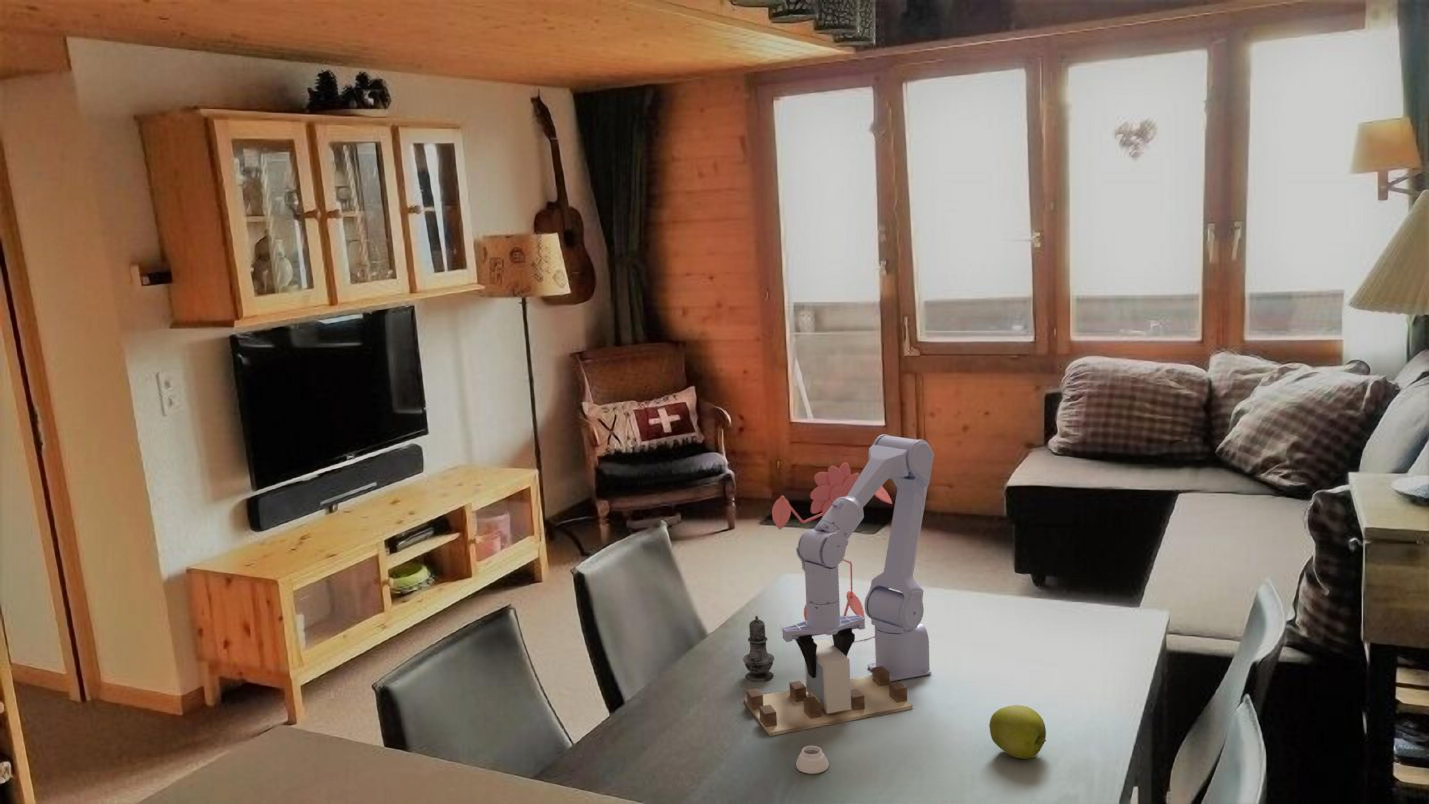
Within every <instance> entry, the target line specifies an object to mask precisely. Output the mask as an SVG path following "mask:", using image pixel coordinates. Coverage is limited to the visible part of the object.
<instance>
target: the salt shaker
mask: <svg viewBox="0 0 1429 804" xmlns="http://www.w3.org/2000/svg"><path fill="white" fill-rule="evenodd" d="M765 625H766V624H765V622H764V621H763V620H761V619H759V617H758V615H755V617H754V619H753V620H751V621H750V623H749V627H748V629H749V637H748V639H747V641H748V643H749V653H748V654H746V655H744V656H743V657H742V661H743V662H744V666H745V668H746V669H747V671H748V672H747V673H746V674H745V676H744V677H745V679H746V680H747V681H749V682H752V683H766V682H770V681H771V680H772V679H774V673H773V672H772V671H770V670H771V669H772V667H773V665H774V661H775V656H774V655H773V654H771V653H769V652H768V651H767V641H768V637H767V636H766V626H765Z"/></svg>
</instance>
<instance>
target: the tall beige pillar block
mask: <svg viewBox="0 0 1429 804" xmlns="http://www.w3.org/2000/svg"><path fill="white" fill-rule="evenodd" d="M814 642H815V643H816V644H817V650H816V678H812V677H811V676H810V675H809V674H808V669H807V665H806V662H805V661H804V673H805V674H804V675H805V687H806V692H807V693H808V694H809V695H810V696H811V697H815V698H816V699H817V700H818V701H819V702H820V703H821V708H822V709H823V710H824V711H825V712H826V713H827V714H829V713H834V712H839V711H844V710H850V709H851V689H850V679H851V672H850V671H851V669H850V658H849V657H848V656H847V657H846V656H845V655H844V654H843V653H842V652H841V651H840V650H839V649H837V648H836V647H835V646H834V643H832V642H831V641H830V640H829V639H828V638H826V639H821V640H820V639H818V640H814Z"/></svg>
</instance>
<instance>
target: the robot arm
mask: <svg viewBox="0 0 1429 804" xmlns="http://www.w3.org/2000/svg"><path fill="white" fill-rule="evenodd" d="M934 458H935V453H934V452H933V449H932V448H931V446H930V444H929V443H928V441H926V440H924V439H914V438H907V437H900V436H893V435H889V434H885V433H884V434H880V435H879V436H877V437H876V438H875V439H874V442H873V443H872V445H871V446H870V447H869V449H868V461H867V463H866V465H865V466H864V467H863V469H862V471H861V472H860V473H859V474H860V476H859V477H858V479H857V481H856V482H855V484H854V485H853V487H852V489H851V490H850V492H849V493H848V495H847V496H846V497H839V498H837V499H836V500H834V502H833V503H832V505H831V507H830V508H829V509H828V511H827V512H826V513H825V515H824V516H823V515H822V516H821V519H819V521H818V522H817V524H816V526H814V528H811V529H808V530H807V531H805V532H803V533H802V534H801V535H800V537H799V540H798V543H797V547H796V549H795V551H796V556H797V558H799V560H800V562H801V569H802V571H803V572H804V582H805V583H804V584H805V602H806V603H805V605H806V609H807V620H806V621H805V620H804V621H801V622H798V623H795V624H792V625H789V626H784V627H781V629H782V639H783V640H784V641H785V642H786V643H790V642H792V641H793V640H794V641H795V642H796V644H797V645H798V647H799V649H800V652H801V654H802V656H803V659H804V663H805V662H806V665H807V669H808V674H809V675H810V676H811V677H812V678H816V650H817V644H816V643H815V642H814V641H815V640H814V638H813V637H816V636H820V635H826V636H832V640H833V643H832V644H833V645H834V646H835V647H836V648H837V649H839V650H840V651H841V652H842V653H843V654H844V655H845V656H846V657H848V654H849V651H850V649H851V648H852V645H853V643H855V639H856V635H855V632H853V630H859V631H861V630H865V629H866V623H865V622H866V621H865V619H866V618H865V619H864V618H863V617H862V616H861V615H856V614H855V615H846V616H844V615H841V611H840V610H841V608H840V601H841V600H840V580H839V577H840V576H839V564H840V563H842V562H843V559H845V556H846V550H847V549H846V548H847V546H848V545H849V538H850V537H851V536H852V534H853V533H854V532H855V530H856V529H857V527H858V526H859V525H860V523H861V522H862V521H863V519H864V517H865V515H864V514H865V513H864V507H865V506H866V505H867V503H868V502H869V501H871V499H872V498H873V497H874V496H875V495H874V494H875V493H876V492H877V491H878V490H879V488H880V487H881V486H882V487H883V486H884V484H885V483H886V482H887V481H888V480H889V479H891V480H892V482H893V484H894V485H895V487H896V488H897V489H896V490H897V491H896V496H895V502H894V508H893V515H892V519H891V524H890V525H891V526H890V532H889V538H888V544H887V550H886V556H885V557H886V558H885V563H884V567H883V572H881V573H879V574H878V575H876V576H875V577H873V578H872V579H871V583H870V587H869V590H868V593H867V594H866V596H865V598H864V613H865V614H866V616H867V618H869V619H871V620H870V621H871V625H873V626H874V636H875V637H874V643H875V644H874V647H875V648H874V651H875V662H870V663H868V664H867V667H868V669H870V670H871V671H872V668H874V667H879V666H883V667H884V668H885V669H886V670H887V671H889V675H890V682H896V681H901V680H906V679H907V680H908V679H911V678H916V677H917V678H918V677H922V676H928V675H931V674H932V670H931V669H930V640H929V635H928V631H927V629H926V626H925V624H924V623H922V620H923V616H924V612H925V611H924V602H923V600H924V599H923V598H924V592H925V591H924V589H923V588H922V587H921V585H920V584H919V582H918V581H916V579H915V578H914V572H915V566H916V565H915V564H916V560H917V553H918V549H919V541H920V536H921V529H922V524H923V516H924V511H925V507H926V506H925V505H926V499H927V493H928V488H929V485H930V483H931V475H932V470H933V469H932V468H933V464H934Z"/></svg>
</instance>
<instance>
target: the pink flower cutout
mask: <svg viewBox="0 0 1429 804" xmlns="http://www.w3.org/2000/svg"><path fill="white" fill-rule="evenodd" d="M860 474H861V473H859V472H854V473H853V474H852V473H851V467H850V465H849V463H848V462H847V461H846V462H843V463H842V464H841V465H840V466H839V467H837V466H836V465H829V467H828V469H827V472H826V471H819V472H817V473H816V474H814V477H813V478H814V482H815V484H816V485H817V487H815V488H813V490H812V491H811V492H810V494H809V497H810V499H811V500H813V501H811V504H810V505H811V506H810V513H811V514H816V515H814V516H812V517H809V518H807V519H805V520H803V519H802V517H800V515H799V514H798V512H797V511H795V509H794V508H793V506H791V504H790V502H789V500H788V499H786V497H785V496H784V495H781V496H779V497H780V498H778V499H776V501H775V502H774V504H773V506H772V510H771V515H772V521H773V522H774V524H775V525H776V527H777V529H778V530H780V531H781V530H782V529H783V528H784V527H785V526H786V524H787V523H788V522H789V520H790V517H791V514H792V513H793V515H795V517H796V518H797V520H799V522H800V523H802V525H804V524H806V523H808V522H811V521H813V520H816V519H817V518H820V517H823V516H824V515H825V513H826V512H827V511H828V509H829V508H830V507H831V505H832V503H833V502H834V500H836V499H837V498H839V497H846V496H847V495H848V493H849V492H850V490H851V489H852V487H853V485H854V484H855V482H856V481H857V479H858V477H859V476H860ZM873 496H875V497H876V498H877V499H879V500H880V501H882V502H885V503H886V504H889V505H893V502H892V498H891V497H890V495H889V494H888V491H887V490H886V489H885V488H884V487H883V485H882V486H881V487H880V488H879V490H878V491H877V492H876V493H875V494H874V495H873ZM791 512H792V513H791ZM819 512H820V513H819ZM842 562H845V563H848V564H849V565H850V566H849V569H850V590H848V591H847V592H846V596H845V597H846V600H847V603H846V606H845V609H844V612H843V616H847V613H848V610H849V608H850V609H851V611H852V612H853V613H854V614H855V616H856V615H861V616H862V617H863V618H864V619H866V618H865V617H866V616H865V610H864V608H863V604H862V601H861V600H860V599H859V597H858V596H857V595H856V594H855V593H854V592H853V563H852V561H850V560H848V559H845V558H843V560H842ZM803 618H804V621H806V620H807V609H806V604H805V605H804V608H803ZM780 627H782V625H781V624H780ZM872 638H873V639H874V638H875V635H874V636H871V637H869V638H865V639H861V640H856V641H854V643H857V642H866V641H868V640H871V639H872Z"/></svg>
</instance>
